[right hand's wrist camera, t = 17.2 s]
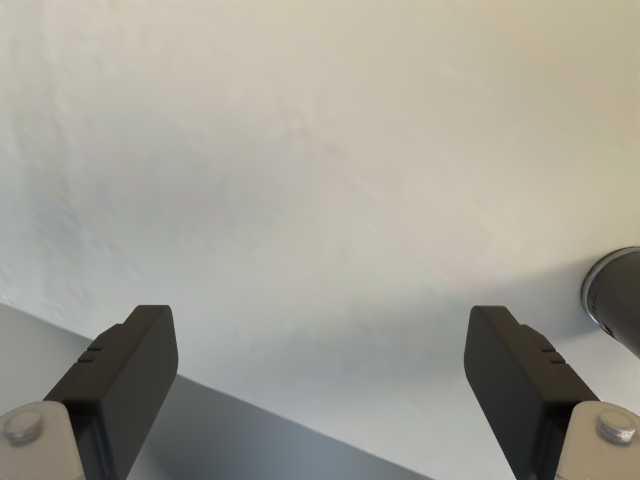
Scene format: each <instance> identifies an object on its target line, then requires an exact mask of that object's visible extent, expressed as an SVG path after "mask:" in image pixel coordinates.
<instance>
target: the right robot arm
mask: <svg viewBox="0 0 640 480" xmlns="http://www.w3.org/2000/svg"><path fill="white" fill-rule="evenodd" d="M581 297H582V304H583V307H584V310H585V311H586V313H587V314H588V315H589V316H590V317H591V318H592V319H593V320H594V321H595V322H597V323H598V324H599V325H601V326H602V327H604V328H605V329H606V330H607V331H608V332H607V331H606V330H604V329H603V328H602V327H601V328H602V329H603V330H604V331H605V332H606V333H607V334H609V335H610V336H612V337H613V338H614V339H616V340H617V341H619V342H620V343H621V344H623V345H624V346H625V347H626V348H627V349H628V350H630V351H631V352H632V353H633V354H634V355H635V356H636V357H638V358H639V359H640V247H632V248H626V249H623V250H620V251H617V252H615V253H613V254H611V255H609V256H607V257H606V258H604V259H603V260H602V261H600V262H599V263H598V264H597V265H596V266H595V267H594V268H593V269H592V270H591V272H590V273H589V275H588V276H587V278H586V280H585V282H584V285H583V288H582V295H581ZM599 325H598V326H599ZM599 327H600V326H599ZM611 334H612V335H611ZM177 368H178V350H177V343H176V336H175V330H174V323H173V316H172V311H171V308H170V307H169V306H168V305H138V306H137V307H136V308H135V309H134V311H133V312H132V313H131V314H130V316H129V317H128V318H127V319H126V321H125V322H124V323H123V324H116V325H114V326H112V327H111V328H109V329H108V330H106V331H105V332H103V333H101V334H100V335H99V336H98V337H97V338H96V339H95V340H94V341H93V343H92V344H91V345H90V346H89V347H88V348H87V351H85V352H84V353H83V354H82V355H81V356H80V358H79V359H78V362H77V363H74V365H73V366H72V367H71V368H70V369H69V370H68V372H67V373H66V374H65V375H64V376H63V377H62V378H61V380H60V381H59V382H58V383H57V384H56V385H55V387H54V388H53V389H52V390H51V391H50V392H49V394H48V395H47V396H46V397H45V398H44V399H43V401H39V402H33V403H29V404H26V405H23V406H20V407H18V408H15V409H13V410H11V411H9V412H7V413H6V414H4V415H2V416H1V417H0V480H126V478H127V476H128V474H129V472H130V470H131V468H132V466H133V464H134V462H135V459H136V457H137V455H138V453H139V451H140V449H141V447H142V445H143V443H144V441H145V439H146V437H147V435H148V433H149V431H150V429H151V427H152V424H153V422H154V420H155V418H156V416H157V414H158V412H159V410H160V408H161V406H162V404H163V402H164V400H165V398H166V396H167V394H168V391H169V389H170V387H171V385H172V383H173V381H174V379H175V376H176V373H177ZM464 368H465V373H466V377H467V379H468V382H469V384H470V386H471V388H472V390H473V392H474V394H475V396H476V398H477V400H478V402H479V404H480V406H481V408H482V410H483V412H484V414H485V416H486V418H487V420H488V422H489V424H490V426H491V428H492V430H493V433H494V435H495V437H496V439H497V441H498V443H499V445H500V447H501V449H502V451H503V453H504V455H505V457H506V459H507V461H508V463H509V465H510V467H511V469H512V471H513V473H514V475H515V477H516V479H517V480H640V417H639V416H638V415H636V414H634V413H633V412H631V411H629V410H627V409H625V408H622V407H620V406H617V405H614V404H611V403H607V402H601V401H600V400H599V399H598V398H597V396H596V395H595V394H594V393H593V392H592V391H591V390H590V388H589V387H588V386H587V385H586V384H585V383H584V381H583V380H582V379H581V378H580V377H579V376H578V375H577V373H576V372H575V371H574V370H573V369H572V368H571V367H570V365H569V364H566V362H565V360H564V359H563V357H562V356H561V355H560V354H559V353H558V352H556V349H555V348H554V347H553V346H552V345H551V344H550V342H549V341H548V340H547V339H546V338H545V337H544V336H543V335H541V334H540V333H538V332H537V331H535V330H534V329H532V328H530V327H529V326H527V325H520V324H519V323H518V322H517V321H516V319H515V318H514V317H513V316H512V314H511V313H510V312H509V311H508V309H507V308H506V307H504V306H474V307H473V308H472V310H471V313H470V318H469V325H468V332H467V339H466V345H465V352H464Z"/></svg>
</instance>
